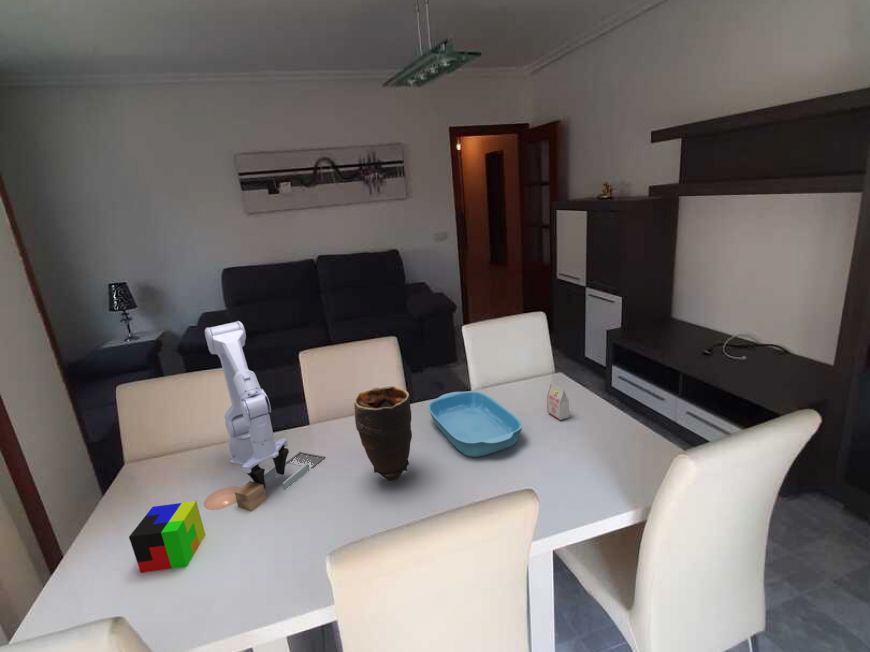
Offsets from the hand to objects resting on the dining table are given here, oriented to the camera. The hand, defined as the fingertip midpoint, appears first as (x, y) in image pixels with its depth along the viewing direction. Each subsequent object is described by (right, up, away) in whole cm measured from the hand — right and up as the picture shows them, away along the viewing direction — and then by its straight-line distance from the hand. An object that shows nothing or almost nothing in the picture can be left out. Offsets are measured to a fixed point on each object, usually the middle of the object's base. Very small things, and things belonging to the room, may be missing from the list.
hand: (271, 481), depth 126 cm
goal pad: (-12, -4, -2) cm, 13 cm away
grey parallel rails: (+2, -1, +5) cm, 5 cm away
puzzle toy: (-15, -10, -21) cm, 28 cm away
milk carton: (+86, +13, +27) cm, 91 cm away
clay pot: (+33, +1, 0) cm, 33 cm away
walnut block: (-3, -4, -6) cm, 8 cm away
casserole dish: (+57, +8, +21) cm, 62 cm away
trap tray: (+6, +2, +13) cm, 14 cm away
